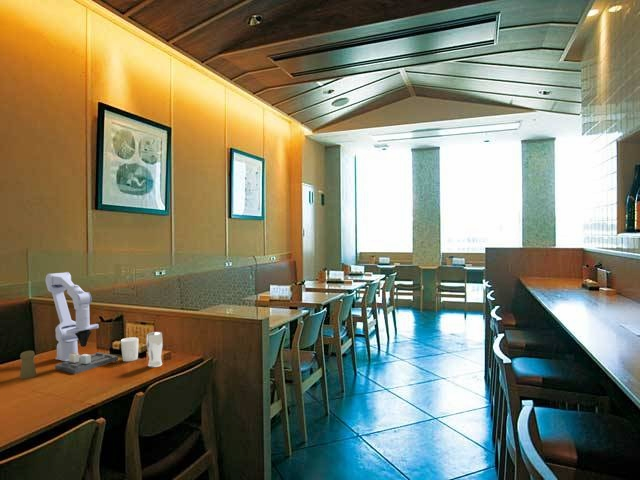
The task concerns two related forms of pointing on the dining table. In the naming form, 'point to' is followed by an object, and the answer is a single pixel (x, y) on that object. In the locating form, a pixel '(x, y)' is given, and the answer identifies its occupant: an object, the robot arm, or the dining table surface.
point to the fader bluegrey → (85, 358)
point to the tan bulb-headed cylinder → (27, 365)
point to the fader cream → (73, 357)
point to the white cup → (129, 348)
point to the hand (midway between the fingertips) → (83, 346)
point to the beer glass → (154, 348)
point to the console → (78, 367)
